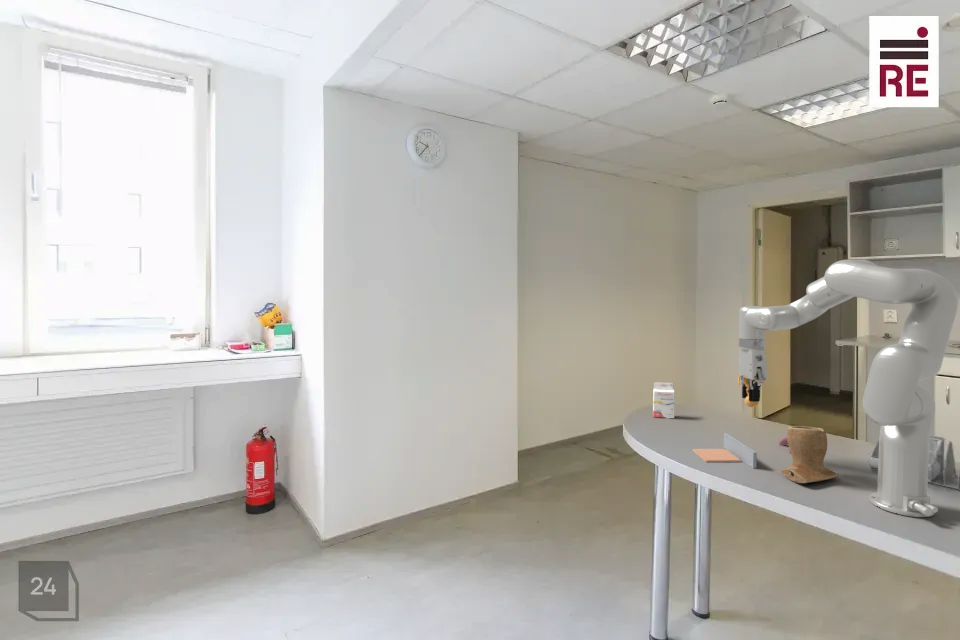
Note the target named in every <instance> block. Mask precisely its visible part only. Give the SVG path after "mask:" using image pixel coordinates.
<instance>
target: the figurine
mask: <svg viewBox="0 0 960 640" xmlns="http://www.w3.org/2000/svg"><path fill="white" fill-rule="evenodd" d="M741 377H742V374H741V375H738V376H737V385H738V386H741V383H740V380H741ZM755 379H757V378H755ZM744 384H745V385H746V387H747V389H746V391H747V394H748V396H747V397H746V398H744V403H745V405H746V406H747V407H749V408H756V407H757V406H758V405H759V403H760V401H759V402H750V401H749V392H748V390H749V388H750V379H747V378H745V382H744Z"/></svg>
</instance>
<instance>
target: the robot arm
mask: <svg viewBox="0 0 960 640" xmlns="http://www.w3.org/2000/svg"><path fill="white" fill-rule="evenodd" d="M805 292H806V294H805V295H804V296H802V297H801V298H799V299H797V300H795V301H793V302H791V303H788V304H786V305H774V306H773V305H771V306H759V305H746V306H741V307H740V308H739V310H738V315H739V316H738V349H739V350H738V351H739V354H738V361H737V362H738V363H737V364H738V365H737V366H738V367H737V368H738V369H737V370H738V371H737V372H738V376H740V375H741V374H742V377H740V380H741V398H742V399H745V398H746V397H747V396H748V394H747V391H746V389H747V387H746V385H745V384H744V382H745V378H747V379H750V388H749V390H748V392H749V401H750V402H759V403H760V400H761V396H760V395H761V389H762V385H763V384H764V381H766V380H767V379H768V367H767V366H768V364H767V353H766V350H765V349H766V331H768V332H771V331H772V332H773V331H775V332H776V331H783V330H793V329H795V328H798V327H800V326H802V325H804V324H807V323H809V322H811V321H813V320H816V319H817V318H818V317H821V316H822V315H823V314H825V313H826V312H827V311H828V310H829V309H832V308H833V307H836V306H838V305H840V304H841V303H844V302H847V301H848V300H851V299H853V298H854V297H856V298H860V299H865V300H869V301H874V302H878V303H880V304H881V303H882V304H888V305H889V304H890V305H903V304H905V305H906V304H910V305H911V309H910V312H909V313H908V315H907V316H906V318H905V321H904V323H903V327H902V331H901V333H900V334H901V335H900V337H899V340H898V342H897V343H894V344H893V343H892V344H889V345H886V346H885V347H883V348H881V349H880V350H879V351H878V352H877V353H876V355H875V356H874V358H873V360H872V362H871V365H870V369H869V372H868V376H867V381H866V382H865V383H866V384H865V389H864V392H863V395H862V409H863V411H864V413H865V415H866V416H867V418H868V419H869V420H871V421H872V422H874V423H876V424H877V425H880V428H879V439H878V440H879V441H878V461H877V463H878V464H877V465H878V466H877V484H876V485H877V487H876V488H877V490H876V491H874V492H872V493H869V495H868V496H869V501H870V503H871V504H873V505H874V506H876V507H877V506H878V508H879V507H880V509H882V510H883V511H886V512H887V511H888V512H890V513H893V514H896V513H897V514H896V515H901V516H906V517H912V518H913V517H914V518H930V517H934V515H936V513H937V512H938V511H939V508H938V507H937V506H935V505H932V504H931V497H930V496H929V495H928V485H929V484H928V483H929V463H930V462H929V461H930V447H931V446H930V445H931V443H930V442H931V432H932V426H933V422H934V418H935V413H936V403H935V399H934V396H933V394H932V393H931V392H930V391H929V390H928V389H927V388H926V387H924V386H922V385H920V384H919V382H921V381H925V380H929V379H931V378H933V377H935V376H936V375H938V373H939V372H940V370H941V368H942V365H943V361H944V357H945V355H946V350H947V349H948V348H947V347H948V344H949V340H950V337H951V332H952V330H953V325H954V323H955V319H956V316H957V313H958V307H959V297H958V293H957V290H956V289H955V287H954V286H953V284H952V283H951V282H950V281H949V280H948V279H947V278H945V277H944V276H942V275H941V274H939V273H937V272H934V271H933V270H930V269H925V268H924V269H923V268H894V267H893V268H891V267H888V266H887V267H886V266H879V265H877V264H876V263H874V262H872V261H870V260H868V259H867V260H866V259H842V260H838V261H835V262H833V263H831V264H830V265H829V266H828V268H827V269H826V270H825V272H824V276H822V277H820V278H818V279H816V280H814V281H813V282H810V283H809V284H808V285H807V286H806V291H805ZM755 378H757V379H755Z"/></svg>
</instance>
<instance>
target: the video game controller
mask: <svg viewBox="0 0 960 640" xmlns="http://www.w3.org/2000/svg"><path fill="white" fill-rule="evenodd" d="M778 444H779V446H781V445H784V446H787V445H788V446H789V444H788V441H787V435H786V436H784V437H782V438H780V439H779V441H778ZM788 452H789V454H791V450H790V448H788Z"/></svg>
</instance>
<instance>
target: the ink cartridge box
mask: <svg viewBox="0 0 960 640" xmlns="http://www.w3.org/2000/svg"><path fill="white" fill-rule="evenodd" d="M663 385H664V386H663ZM652 391H653V392H652V393H653V395H652V396H653V397H652V417H653V418H655V417H666V418H665V419H669V418H674V419H675V399H676V397H675V395H676V394H675V393H676V392H675V389H674V383H673V382H656V381H655V382H653V390H652Z"/></svg>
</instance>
